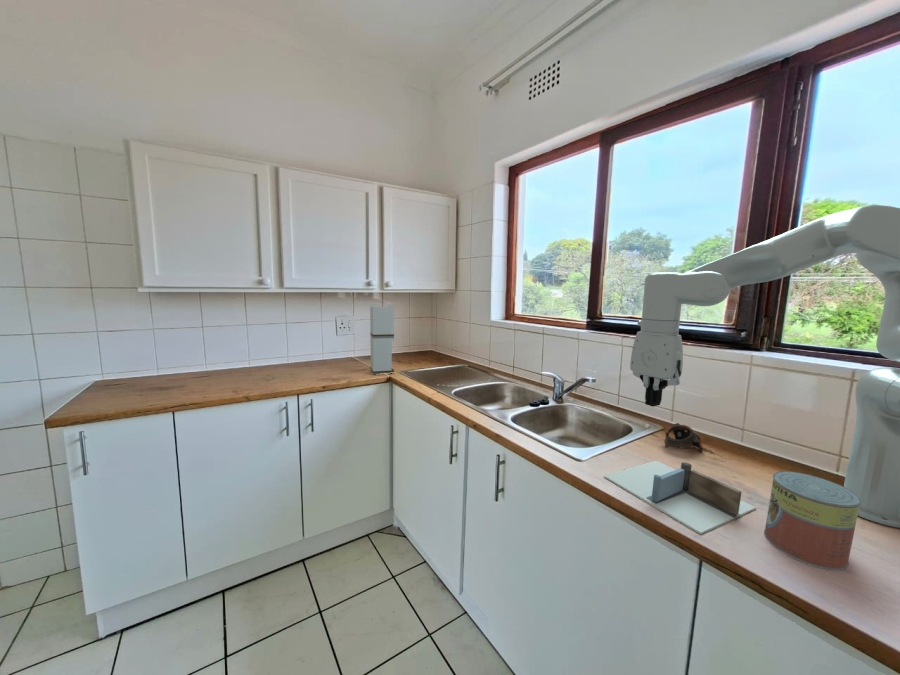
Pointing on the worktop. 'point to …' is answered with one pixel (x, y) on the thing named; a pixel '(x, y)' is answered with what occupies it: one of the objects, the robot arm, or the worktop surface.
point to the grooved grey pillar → (381, 338)
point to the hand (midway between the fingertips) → (652, 404)
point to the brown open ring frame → (682, 437)
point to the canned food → (812, 519)
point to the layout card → (675, 498)
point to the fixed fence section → (711, 489)
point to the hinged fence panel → (667, 484)
